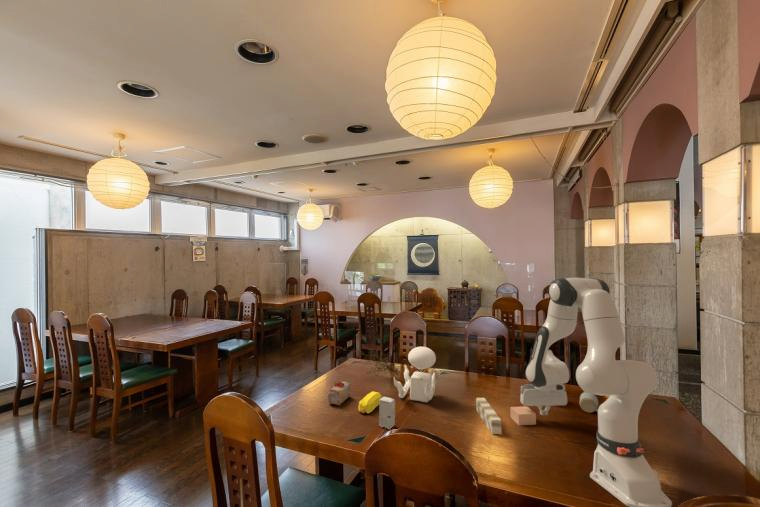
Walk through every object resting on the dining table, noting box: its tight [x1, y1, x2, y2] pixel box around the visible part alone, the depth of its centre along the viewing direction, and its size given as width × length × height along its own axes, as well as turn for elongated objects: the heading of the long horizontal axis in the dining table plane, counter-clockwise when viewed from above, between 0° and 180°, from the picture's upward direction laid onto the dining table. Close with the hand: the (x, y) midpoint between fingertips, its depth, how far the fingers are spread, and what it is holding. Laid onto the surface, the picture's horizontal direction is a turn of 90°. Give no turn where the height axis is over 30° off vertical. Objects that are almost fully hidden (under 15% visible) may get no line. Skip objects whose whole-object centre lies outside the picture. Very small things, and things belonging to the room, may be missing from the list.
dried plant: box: [334, 335, 402, 377], centre depth 221 cm, size 30×31×45 cm
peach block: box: [509, 405, 537, 426], centre depth 160 cm, size 8×8×5 cm
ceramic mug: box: [579, 391, 601, 414], centre depth 168 cm, size 11×8×8 cm
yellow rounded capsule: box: [358, 390, 383, 414], centre depth 177 cm, size 18×7×8 cm
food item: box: [327, 381, 351, 407], centre depth 186 cm, size 14×8×10 cm, turn 160°
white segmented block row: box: [475, 397, 503, 435], centre depth 160 cm, size 24×4×6 cm, turn 0°
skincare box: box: [378, 396, 396, 430], centre depth 157 cm, size 6×4×12 cm
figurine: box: [393, 346, 437, 403], centre depth 188 cm, size 24×20×28 cm
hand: (543, 414), depth 160 cm, fingers closed
